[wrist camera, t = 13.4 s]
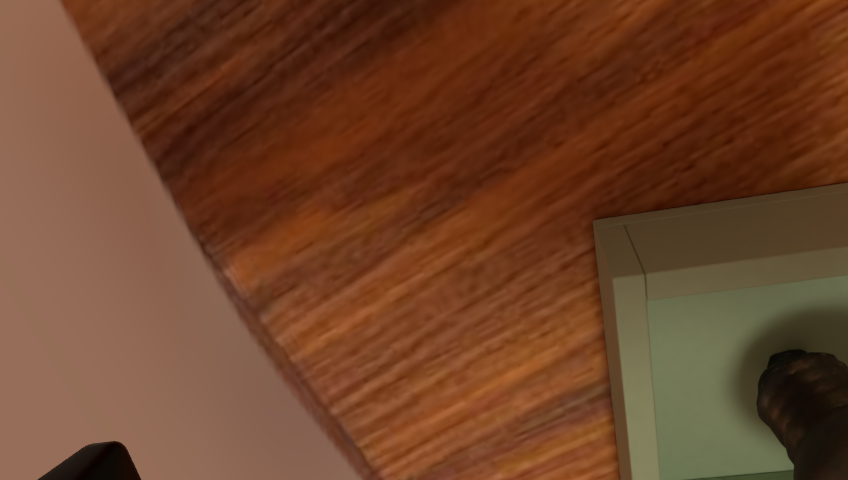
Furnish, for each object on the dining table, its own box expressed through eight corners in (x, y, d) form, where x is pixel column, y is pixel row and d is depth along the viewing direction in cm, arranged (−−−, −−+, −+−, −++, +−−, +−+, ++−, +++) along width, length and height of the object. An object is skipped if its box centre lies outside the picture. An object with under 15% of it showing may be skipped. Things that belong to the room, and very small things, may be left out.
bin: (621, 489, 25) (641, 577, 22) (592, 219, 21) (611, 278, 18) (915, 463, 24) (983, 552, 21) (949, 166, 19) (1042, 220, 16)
